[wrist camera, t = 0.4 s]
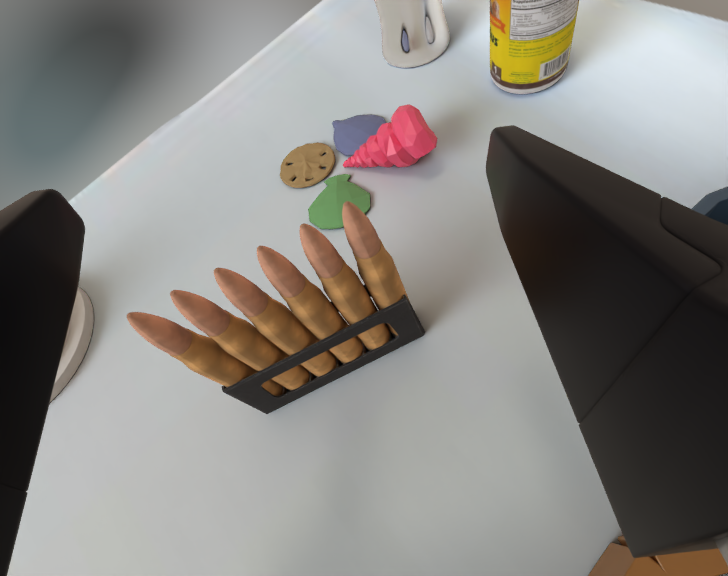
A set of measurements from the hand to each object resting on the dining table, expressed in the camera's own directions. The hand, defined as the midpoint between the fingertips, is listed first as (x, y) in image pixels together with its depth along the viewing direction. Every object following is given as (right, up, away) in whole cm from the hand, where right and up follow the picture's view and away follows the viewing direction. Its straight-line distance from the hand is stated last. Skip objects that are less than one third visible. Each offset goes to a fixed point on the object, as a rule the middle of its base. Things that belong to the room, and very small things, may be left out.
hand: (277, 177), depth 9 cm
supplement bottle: (+14, +14, +23) cm, 31 cm away
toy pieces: (+1, +7, +24) cm, 25 cm away
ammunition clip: (0, -7, +16) cm, 18 cm away
